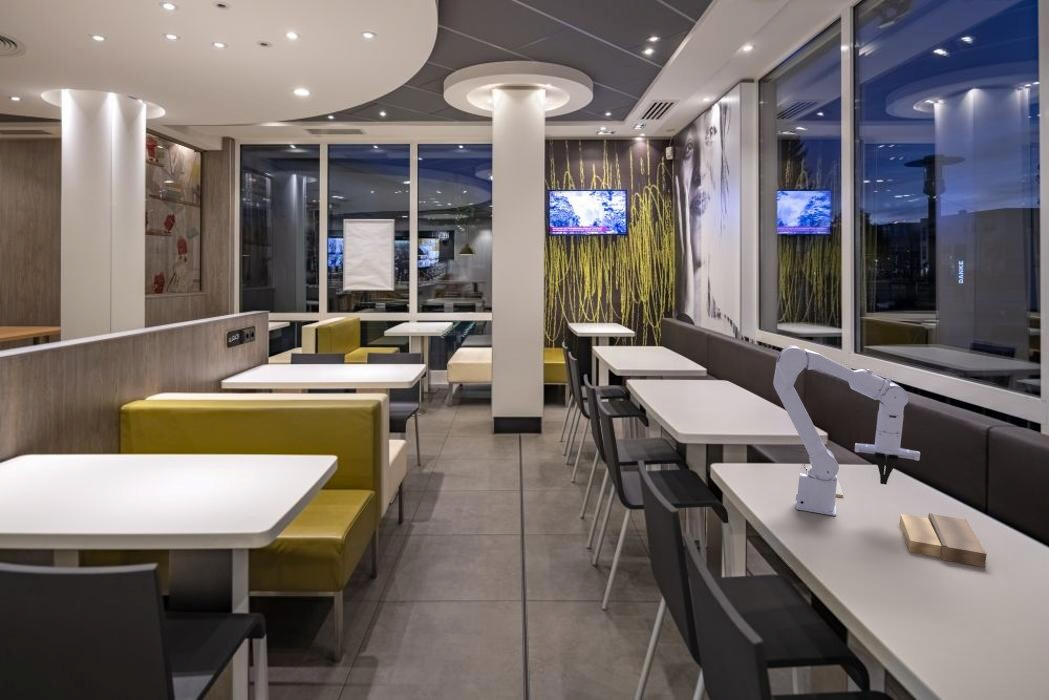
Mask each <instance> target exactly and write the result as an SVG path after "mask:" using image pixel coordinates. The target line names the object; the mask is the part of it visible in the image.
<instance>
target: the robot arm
mask: <svg viewBox="0 0 1049 700" xmlns="http://www.w3.org/2000/svg"><path fill="white" fill-rule="evenodd" d="M775 362H776V363H775V370H774V376H773V382H772V383H773V388H774V390H775V391H776V394H777V395H778V397H779V399H780V401H781V403H782V405H783V407H784V409H785V410H786V413H787V414H788V417H789V419H790V421H791V422H792V424H793V427H794V428H795V430H796V431H797V434H798V435H799V438H800V440H801V442H802V444H803V445H804V448H805V449H806V451H807V454H808V456H809V464H810V465H812V468H811V469H810V470H809V471H808V474H807V473H801V472H800V473H799V476H798V485H797V493H795V495H796V496H795V501H796V508H795V509H796V510H798V511H799V510H800V511H803V512H804V511H805V512H811V513H816V514H817V513H818V514H823V515H829V516H834V517H835V516H837V506H836V498H837V497H836V488H837V478H838V475H837V474H838V473H839V470H840V469H839V468H840V467H839V466H840V465H839V463H838V461H837V460H836V458H835V455H834V453H833V452H832V451H831V450H830V449H828V448H827V447H826V445H825V444H824V442H823V440H822V438H821V436H820V434H819V432H818V431H817V429H816V427H815V425H814V423H813V421H812V419H811V417H810V415H809V413H808V412H807V409H806V407H805V405H804V403H803V402H802V400H801V398H800V396H799V394H798V392H797V390H796V389H795V387H794V385H795V383H796V381H797V378H798V376H799V375H800V373H802V371H803V370H804V369H805V368H806V369H807V370H808V371H809V370H821V371H823V372H826V373H827V374H830V375H832V376H835V377H837V378H840V380H841V379H842V380H844V381H845V382H846V381H847V382H848V384H849V388H850V389H851V390H853V391H855V392H856V393H859V394H861V395H864V396H866V397H868V398H870V399H873V400H875V401H877V400H879V401H878V402H879V407H878V411H877V419H876V429H875V439H874V444H869V443H859V442H858V443H857V442H855V444H854V452H855V453H864V454H872V455H873V457H874V460H875V462H876V465H877V469H878V473H879V479H880V480H879V482H880V485H887V483H888V482H889V478H890V475H891V473H892V472H893V470H894V468H895V467H896V465H897V464H898V462H899V458H902V459H908V460H914V461H918V462H919V461H920V458H921V452H920V451H918V450H912V449H907V448H903V447H901V444H902V443H901V441H902V435H903V427H904V426H903V423H904V416H905V415H904V411H905V409H904V408H905V406H906V405H907V404H908V402H909V397H908V393H907V391H906V390H905V389H904V388H903V387H902V386H900V385H899V384H897V383H895V382H893V381H892V380H891V379H889V378H886V379H885V378H882V377H881V376H878V375H876V374H875V373H874V371H872V370H871V369H868V368H866V370H865V369H863V368H859V369H856V370H853V369H851V368H849V367H847V366H845V365H843V364H842V363H839V362H838V361H835V360H833V359H831V358H829V357H826V356H824V355H823V354H821V353H818V352H816V351H812V350H810V349H806V348H801V347H800V346H798V345H796V344H795V345H794V344H791V345H787V346H785V347H783V349H782V350H781V351H780V352H779V355H778V357H777V358H776V361H775ZM836 475H837V476H836Z"/></svg>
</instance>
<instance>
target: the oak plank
mask: <svg viewBox="0 0 1049 700" xmlns="http://www.w3.org/2000/svg"><path fill="white" fill-rule="evenodd" d="M899 527H900V528H901V532H902V534H903V535H902V536H903V537H904V540H905V543H906V545H907V548H908V551H909V552H911V553H915V554H921V555H927V556H932V557H937V558H941V548H942V546H941V543H940V541H939V539H938V537H937V535H936V533H935V531H934V529H933V527H932V525H931V523H930V521H929V519H928V517H923V516H916V515H911V514H904V513H900V518H899Z"/></svg>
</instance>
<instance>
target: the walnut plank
mask: <svg viewBox="0 0 1049 700" xmlns="http://www.w3.org/2000/svg"><path fill="white" fill-rule="evenodd" d="M927 518H928V519H929V521H930V523H931V525H932V527H933V529H934V531H935V533H936V535H937V537H938V539H939V541H940V543H941V546H942V548H941V557H940V559H941V560H944V561H950V562H953V563H958V564H959V563H960V564H964V565H970V566H976V567H981V568H986V562H987V561H986V560H987V552H986V550H985V549H984V546H983V545H982V544H981V542H980V540H979V539H978V537H977V535H976V534H975V532H974V530H973V528H972V526H971V525H970V523H969V521H968V520H967V519H966V518H959V517H952V516H946V515H941V514H940V515H939V514H934V513H931V512H928V517H927Z"/></svg>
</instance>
